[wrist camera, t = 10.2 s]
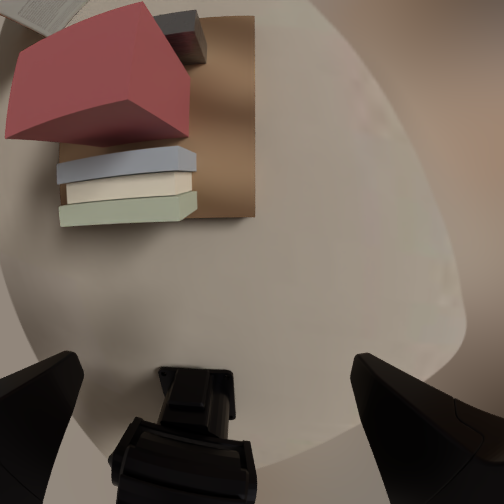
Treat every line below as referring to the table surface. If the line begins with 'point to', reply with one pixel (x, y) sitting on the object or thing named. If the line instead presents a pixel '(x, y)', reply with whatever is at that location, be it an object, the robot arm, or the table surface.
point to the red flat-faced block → (101, 84)
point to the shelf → (212, 123)
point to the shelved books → (129, 187)
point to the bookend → (184, 36)
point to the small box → (41, 13)
